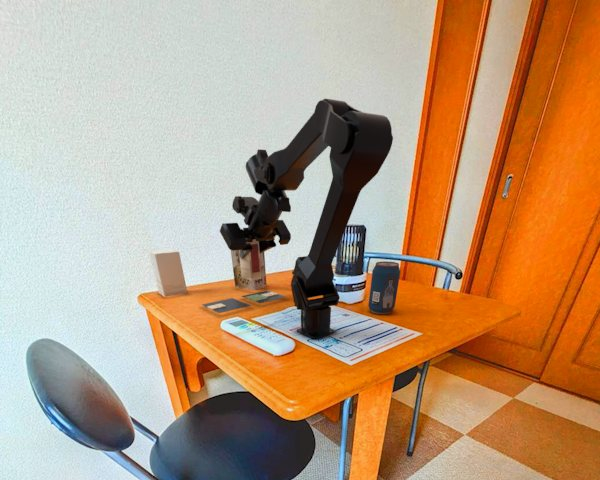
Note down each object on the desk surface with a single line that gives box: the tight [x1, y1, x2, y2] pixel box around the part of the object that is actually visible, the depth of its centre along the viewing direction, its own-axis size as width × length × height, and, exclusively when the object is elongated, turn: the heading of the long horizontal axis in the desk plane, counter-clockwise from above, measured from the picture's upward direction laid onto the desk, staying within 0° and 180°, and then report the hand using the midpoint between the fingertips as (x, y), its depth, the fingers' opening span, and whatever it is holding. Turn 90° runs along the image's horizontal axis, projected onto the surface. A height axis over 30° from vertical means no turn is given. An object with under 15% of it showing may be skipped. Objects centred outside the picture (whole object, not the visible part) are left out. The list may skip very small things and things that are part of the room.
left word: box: [201, 297, 252, 314], centre depth 87 cm, size 10×10×1 cm
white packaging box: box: [148, 248, 188, 298], centre depth 97 cm, size 7×7×13 cm
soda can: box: [367, 261, 401, 315], centre depth 81 cm, size 7×7×12 cm
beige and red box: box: [239, 240, 262, 281], centre depth 86 cm, size 5×4×11 cm
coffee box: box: [230, 250, 267, 291], centre depth 100 cm, size 9×6×16 cm
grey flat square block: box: [241, 290, 287, 304], centre depth 94 cm, size 10×10×1 cm
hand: (246, 256), depth 86 cm, fingers closed on beige and red box, 3 cm apart
